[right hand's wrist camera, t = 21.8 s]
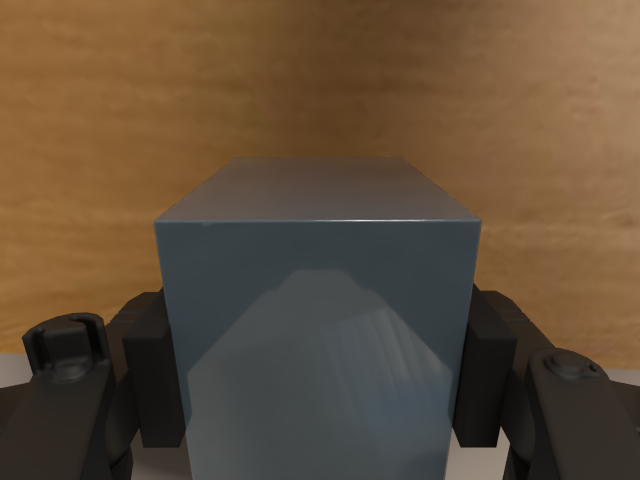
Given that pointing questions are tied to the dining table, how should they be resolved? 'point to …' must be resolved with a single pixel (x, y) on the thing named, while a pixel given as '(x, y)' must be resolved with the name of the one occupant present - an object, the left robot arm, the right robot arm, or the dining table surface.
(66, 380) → the right robot arm
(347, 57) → the dining table surface
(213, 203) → the block
